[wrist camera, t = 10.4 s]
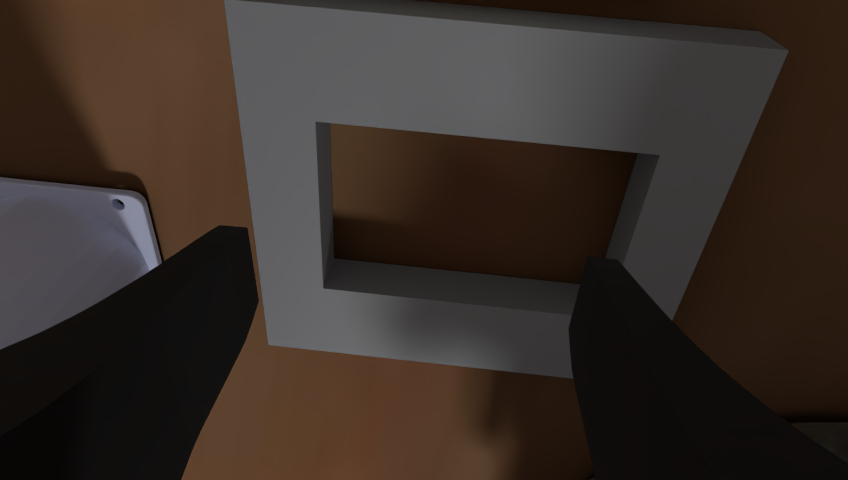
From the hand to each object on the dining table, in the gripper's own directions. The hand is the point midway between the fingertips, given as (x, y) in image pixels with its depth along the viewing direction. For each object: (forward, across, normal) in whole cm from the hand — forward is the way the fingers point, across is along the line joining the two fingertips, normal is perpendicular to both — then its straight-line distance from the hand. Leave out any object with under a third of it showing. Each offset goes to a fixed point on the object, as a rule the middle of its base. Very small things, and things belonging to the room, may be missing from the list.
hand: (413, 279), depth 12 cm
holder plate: (+9, -2, +3) cm, 10 cm away
